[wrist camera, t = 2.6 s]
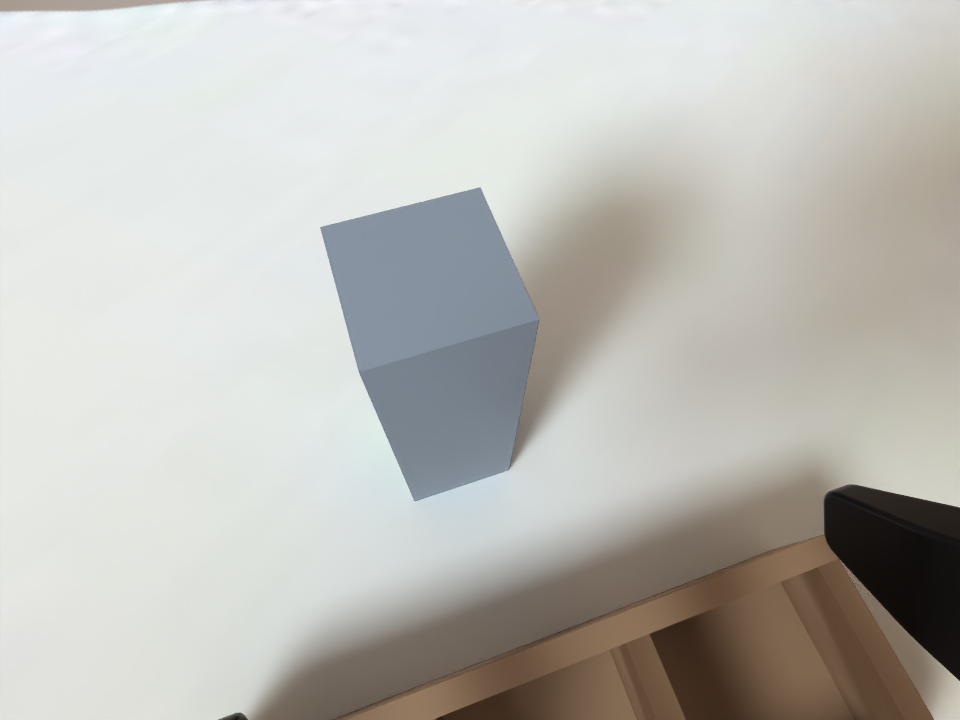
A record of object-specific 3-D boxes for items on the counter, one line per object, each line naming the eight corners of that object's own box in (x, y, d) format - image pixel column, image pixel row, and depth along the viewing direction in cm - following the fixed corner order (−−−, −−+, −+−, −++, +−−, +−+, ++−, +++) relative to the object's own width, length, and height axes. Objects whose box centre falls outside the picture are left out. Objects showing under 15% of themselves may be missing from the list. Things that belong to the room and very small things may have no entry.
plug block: (477, 385, 25) (480, 187, 14) (508, 469, 23) (539, 319, 12) (389, 412, 24) (320, 227, 13) (414, 501, 22) (359, 372, 12)
